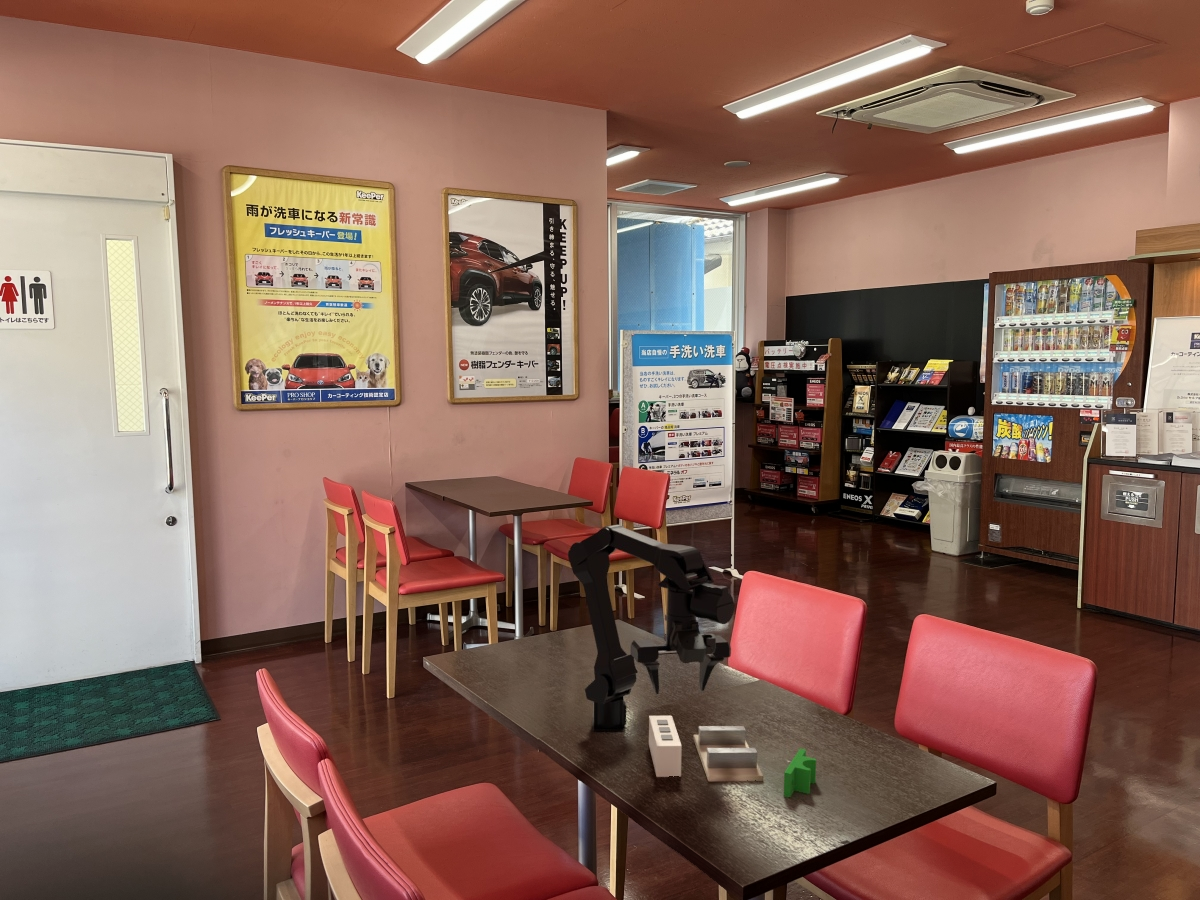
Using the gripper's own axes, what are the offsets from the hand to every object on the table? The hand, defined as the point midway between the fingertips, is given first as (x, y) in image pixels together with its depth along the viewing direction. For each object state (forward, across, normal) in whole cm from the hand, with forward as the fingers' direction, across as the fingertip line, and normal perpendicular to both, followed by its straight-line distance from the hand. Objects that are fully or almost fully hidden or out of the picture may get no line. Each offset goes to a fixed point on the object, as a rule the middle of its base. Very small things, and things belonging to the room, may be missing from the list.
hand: (679, 691), depth 163 cm
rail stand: (+12, +8, -4) cm, 15 cm away
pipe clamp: (+12, +17, -17) cm, 28 cm away
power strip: (+12, -4, -2) cm, 13 cm away
